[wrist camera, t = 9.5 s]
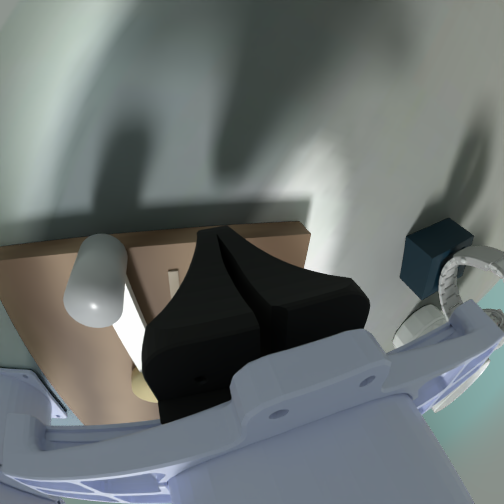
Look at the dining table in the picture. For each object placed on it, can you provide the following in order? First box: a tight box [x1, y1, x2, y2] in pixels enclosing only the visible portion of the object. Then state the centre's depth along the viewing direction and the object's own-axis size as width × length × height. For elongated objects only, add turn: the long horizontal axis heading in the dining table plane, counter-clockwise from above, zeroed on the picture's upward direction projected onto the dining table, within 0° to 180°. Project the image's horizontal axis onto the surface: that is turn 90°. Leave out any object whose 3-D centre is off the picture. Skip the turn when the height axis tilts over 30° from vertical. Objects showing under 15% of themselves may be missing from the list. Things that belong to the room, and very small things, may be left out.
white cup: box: [393, 304, 490, 413], centre depth 25 cm, size 8×8×10 cm
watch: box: [400, 218, 504, 350], centre depth 17 cm, size 6×8×11 cm
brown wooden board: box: [0, 221, 311, 425], centre depth 19 cm, size 18×20×2 cm
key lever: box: [63, 234, 158, 403], centre depth 14 cm, size 13×4×3 cm, turn 3°
